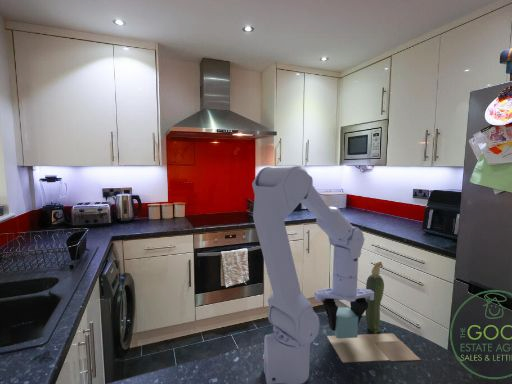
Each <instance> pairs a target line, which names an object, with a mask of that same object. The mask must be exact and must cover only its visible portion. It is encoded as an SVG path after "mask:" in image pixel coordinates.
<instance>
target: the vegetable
mask: <svg viewBox="0 0 512 384" xmlns="http://www.w3.org/2000/svg"><path fill="white" fill-rule="evenodd" d="M383 265H384V264H383V262H382V261H379V262H376V263H375V264H374V266H373V267H372V269H371V274H370V275H369V276H368V277H367V279H366V283H365V285H366V286H365V289H370V290H372V291H373V292H374V300H369V299H366V302H367V303H368V308H367V309H366V311H365V323H366V326H367V328H368V330H369V331H370V332H373V334H377V333H378V332H380V328H381V312H380V311H381V303H382V298H383V296H384V290H385V283H384V279H383V278H382V276H381V275H380V274H381V273H380V268H383V267H384V266H383Z"/></svg>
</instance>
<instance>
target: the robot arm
mask: <svg viewBox="0 0 512 384" xmlns="http://www.w3.org/2000/svg"><path fill="white" fill-rule="evenodd" d="M313 180H314V179H313V176H311V175H310V174H309V173H308V172H307V170H306V169H305V168H304V167H303V166H300V165H295V166H285V167H283V166H281V167H280V166H279V167H270V166H266V167H263V168H261V169H260V170H259V171H258V173H257V175H256V176H255V177H254V180H253V181H252V184H251V185H252V189H253V194H254V202H253V212H252V218H253V222H254V226H255V231H256V234H257V237H258V242H259V245H260V249H261V253H262V256H263V259H264V260H263V261H264V263H265V268H266V272H267V274H268V279H269V283H270V287H271V290H272V293H271V295H269V297H268V298H267V303H268V312H267V315H268V316H267V319H268V321H269V323H270V324H271V325H272V327H273V329H272V331H273V332H272V333H268V334H265V335H264V338H263V339H264V342H263V349H264V350H263V365H262V366H263V373H264V376H265V382H266V384H305V382H306V381H308V379H309V378H310V353H311V348H310V347H311V343H312V342H313V341H314V340H316V338H317V335H318V333H319V330H320V318H319V315H318V313H316V312H315V311H314V309H313V307H314V306H313V304H312V302H310V300H309V299H308V298H307V297H306V296H305V294H303V292H302V291H301V287H300V283H299V278H298V274H297V269H296V265H295V262H294V257H293V253H292V249H291V248H292V247H291V244H290V240H289V236H288V232H287V228H286V224H285V219H286V218H287V217H288V216H290V215H291V214H292V213H293V211H294V210H295V209H296V208H297V207H298V206H299V205H300V204H301V205H302V206H304V207H305V208H306V209H307V210H308V211H309V212H311V214H312V215H314V216H315V217H316V221H315V222H316V225H317V227H319V228H320V229H321V230H322V231H323V232H324V233H325V234H326V236H328V242H329V244H330V245H332V246H333V262H332V263H333V265H332V287H330V288H325V289H321V290H314V294H313V295H314V300H315V302H318V303H320V302H322V304H323V306H324V309H325V312H326V316H327V319H328V320H327V322H328V327H329V328H331V329H330V330H331V332H332V331H335V328H336V314H337V310H338V308H339V306H338V305H337V304H336V302H335V301H342V300H344V301H346V302H349V304H350V309H351V310H352V311H353V312H354V313H355V314H356V315H357V316H358V326H359V324H360V322H361V319H362V316H363V315H364V314H365V313H366V309H367V308H368V303H367V302H366V299H369V300H374V292H373V291H372V290H370V289H366V288H358V273H359V271H358V270H359V258H360V257H361V255H362V248H363V246H364V243H365V237H364V233H363V231H362V230H361V229H360V228H359V227H357V226H353V225H352V224H351V222H350V220H349V219H347V217H346V216H344V215H343V214H342V212H341V209H340V207H335V206H333V205H332V206H329V205H328V204H327V202H326V201H325V200H324V199H323V197H322V195H320V192H318V191H317V189H316V187H314V184H313V182H314V181H313Z"/></svg>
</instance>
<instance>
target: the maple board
mask: <svg viewBox="0 0 512 384" xmlns="http://www.w3.org/2000/svg"><path fill="white" fill-rule="evenodd" d="M326 337H327V339H328V341H329V342H330V344H331V345H332V347H333V349H334V350H335V352H336V354H337V355H338V357H339V359H340V360H341V362H342V363H358V362H359V363H360V362H380V361H383V362H384V361H390V362H403V361H404V362H406V361H407V362H411V361H421V358H420V357H419V356H417V355H416V354H415V352H414V351H412V350H411V349H410V348H409V346H407V345H406V344H405V343H404V342H403V341H402V340H400V339H399V338H398V337H397V336H396V335H395V334H394V333H392V332H391V333H369V334H367V333H365V334H358V335H357V338H337V337H336V336H335V335H327V336H326Z"/></svg>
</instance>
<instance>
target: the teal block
mask: <svg viewBox="0 0 512 384" xmlns="http://www.w3.org/2000/svg"><path fill="white" fill-rule="evenodd" d="M329 328H330V327H329ZM358 329H359V325H358V316H357V315H356V314H355V313H354V312H353V311H352V310H351V307H350V306H349V307H347V306H346V307H338V310H337V314H336V328H335V331H332V330H331V328H330V330H331V332H332V333H333V334H334V336H336V337H337V338H357V335H359V334H358V333H359V332H358V331H359V330H358Z"/></svg>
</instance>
